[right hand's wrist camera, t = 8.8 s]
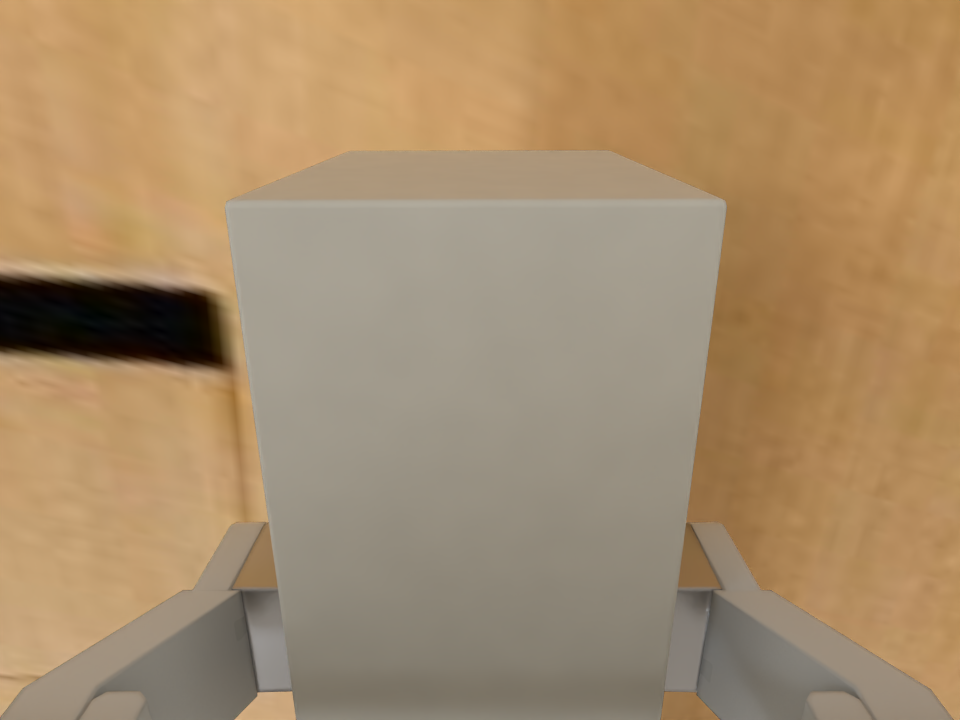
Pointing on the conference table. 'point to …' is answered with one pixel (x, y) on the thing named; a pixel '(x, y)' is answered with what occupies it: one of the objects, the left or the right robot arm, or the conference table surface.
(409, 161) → the post
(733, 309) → the conference table surface
